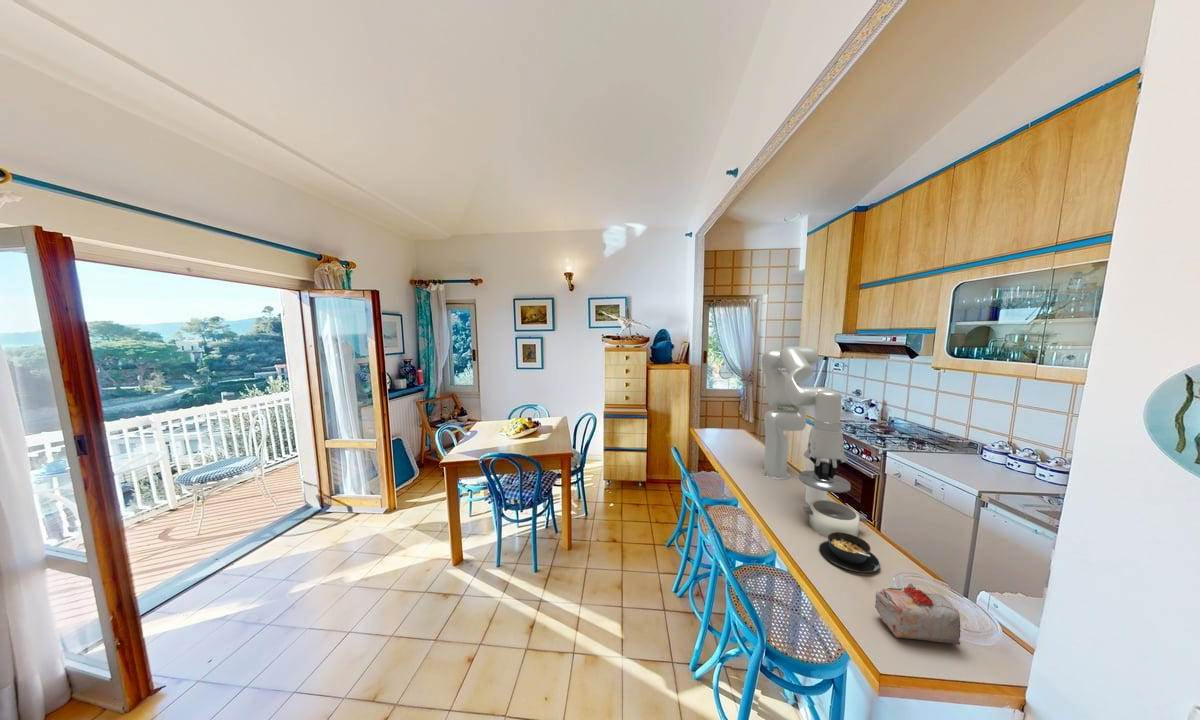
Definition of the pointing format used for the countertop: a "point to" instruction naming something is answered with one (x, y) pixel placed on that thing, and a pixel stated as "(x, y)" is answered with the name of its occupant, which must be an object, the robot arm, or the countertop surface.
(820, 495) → the cylindrical container
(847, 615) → the countertop surface
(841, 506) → the pot
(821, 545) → the soup bowl
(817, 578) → the countertop surface
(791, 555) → the countertop surface
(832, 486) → the lid
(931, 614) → the food item
